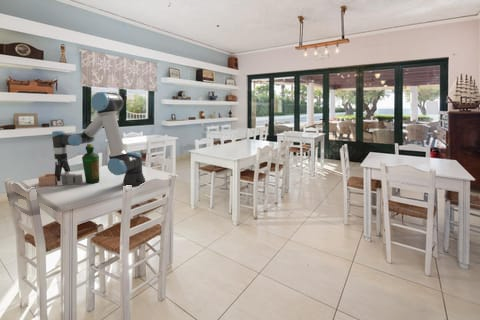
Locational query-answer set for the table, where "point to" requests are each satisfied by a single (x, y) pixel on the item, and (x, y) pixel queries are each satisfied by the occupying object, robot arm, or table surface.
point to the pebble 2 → (78, 179)
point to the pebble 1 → (64, 178)
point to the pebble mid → (70, 178)
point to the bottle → (91, 165)
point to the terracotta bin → (47, 180)
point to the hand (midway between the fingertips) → (63, 182)
